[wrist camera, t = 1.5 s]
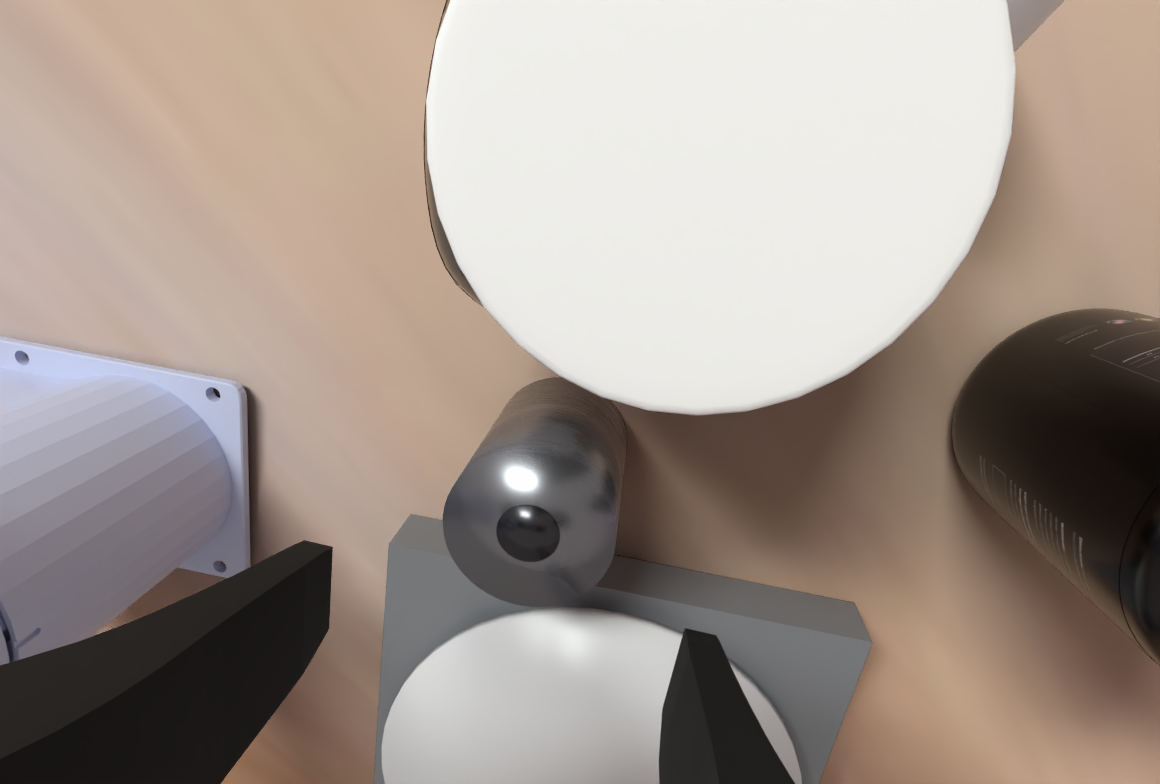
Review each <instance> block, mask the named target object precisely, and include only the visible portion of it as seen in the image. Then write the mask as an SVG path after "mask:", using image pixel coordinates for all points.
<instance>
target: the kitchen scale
mask: <svg viewBox="0 0 1160 784" xmlns="http://www.w3.org/2000/svg"><path fill="white" fill-rule="evenodd" d="M685 628H687V629H691V630H696V631H700V632H705V633H709V634H713V635H716V636H717V638H718V639H719V641H720V643H721V645H722V647H723V650H724V652H725V654H726V656H727V659H728V661H729V663H730V665H731V667H732V670H733V672H734V674H735V676H736V678H737V680H738V682H739V684H740V686H741V688H742V690H743V692H744V694H745V696H746V698H747V700H748V702H749V704H750V706H751V708H752V710H753V712H754V714H755V715H756V717H757V719H758V721H759V723H760V725H761V727H762V729H763V730H764V732H765V734H766V736H767V738H768V739H769V741H770V743H771V745H772V746H773V748H774V750H775V751H776V753H777V755H778V756H779V758H780V760H781V761H782V763H783V765H784V766H785V768H786V770H787V771H788V773H789V775H790V776H791V778H792V779H793V781H794V782H795V784H819V781H820V779H821V776H822V773H823V771H824V768H825V766H826V763H827V760H828V758H829V755H830V752H831V750H832V747H833V745H834V742H835V739H836V737H837V734H838V732H839V729H840V726H841V724H842V721H843V718H844V716H845V713H846V711H847V708H848V705H849V703H850V700H851V698H852V695H853V692H854V690H855V687H856V684H857V682H858V679H859V677H860V674H861V671H862V669H863V666H864V664H865V661H866V658H867V656H868V653H869V650H870V648H871V645H872V643H873V642H872V640H871V638H870V636H869V633H868V631H867V629H866V627H865V625H864V623H863V620H862V618H861V616H860V614H859V612H858V610H857V607H856V605H855V603H852V602H847V601H842V600H837V599H832V598H827V597H822V596H817V595H812V594H807V593H802V592H797V591H792V590H787V589H782V588H777V587H772V586H767V585H762V584H757V583H752V582H747V581H742V580H737V579H732V578H727V577H722V576H717V575H712V574H707V573H702V572H697V571H692V570H687V569H682V568H677V567H672V566H667V565H662V564H657V563H652V562H647V561H642V560H637V559H632V558H627V557H622V556H617V555H614V556H613V559H612V562H611V564H610V566H609V568H608V570H607V571H606V573H605V574H604V576H603V577H602V579H601V580H600V581H599V582H598V583H597V584H596V585H595V586H594V587H593V588H592V589H590V590H589V591H588V592H586V593H585V594H583V595H582V596H580V597H578V598H576V599H574V600H572V601H569V602H566V603H563V604H559V605H554V606H547V607H528V606H521V605H516V604H512V603H508V602H505V601H502V600H500V599H497V598H495V597H493V596H491V595H489V594H487V593H486V592H484V591H483V590H481V589H480V588H478V587H477V586H476V585H474V584H473V583H472V582H471V581H470V580H469V579H468V578H467V577H466V576H465V575H464V574H463V573H462V572H461V570H460V569H459V568H458V567H457V565H456V564H455V562H454V560H453V559H452V557H451V555H450V553H449V550H448V548H447V545H446V542H445V538H444V532H443V521H442V520H437V519H432V518H427V517H422V516H417V515H412V514H410V516H409V517H408V518H407V520H406V521H405V523H404V524H403V525H402V527H401V528H400V529H399V531H398V532H397V534H396V535H395V536H394V538H393V539H392V540H391V542H390V543H389V550H388V565H387V581H386V597H385V612H384V628H383V644H382V659H381V675H380V691H379V706H378V722H377V738H376V753H375V769H374V784H659V748H660V733H661V720H662V708H663V704H664V701H665V697H666V693H667V690H668V686H669V683H670V679H671V675H672V672H673V668H674V665H675V661H676V657H677V654H678V650H679V647H680V643H681V640H682V636H683V632H684V629H685Z"/></svg>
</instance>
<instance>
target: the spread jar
mask: <svg viewBox="0 0 1160 784" xmlns="http://www.w3.org/2000/svg"><path fill="white" fill-rule="evenodd" d="M1063 2H1064V0H446V4H445V7H444V10H443V13H442V17H441V21H440V25H439V29H438V32H437V36H436V41H435V46H434V51H433V55H432V60H431V66H430V73H429V79H428V86H427V95H426V105H425V120H424V170H425V185H426V194H427V203H428V210H429V216H430V222H431V228H432V231H433V235H434V239H435V243H436V247H437V250H438V252H439V254H440V257H441V259H442V261H443V264H444V266H445V268H446V270H447V271H448V272H449V274H450V275H451V277H452V278H453V280H454V281H455V283H456V285H457V286H459V287H460V288H461V289H462V290H463V291H464V292H465V293H466V294H467V295H468V296H470V297H471V298H472V299H473V300H474V301H475V302H477V303H478V304H480V305H482V306H483V307H484V308H485V309H486V310H487V311H488V312H489V313H490V315H491V316H492V317H493V318H494V319H495V320H496V321H497V322H498V323H499V325H500V326H501V327H502V328H503V329H504V330H505V331H506V332H507V333H508V335H509V336H510V337H511V338H512V339H513V340H514V341H515V342H516V343H517V344H518V345H519V346H520V347H521V348H522V349H524V350H525V351H526V352H528V353H529V354H530V355H532V356H533V357H534V358H536V359H537V360H538V361H539V362H541V363H542V364H543V365H545V366H546V367H547V368H549V369H550V370H551V371H553V372H554V373H555V374H556V375H558V376H560V377H562V378H564V379H566V380H568V381H570V382H572V383H574V384H576V385H578V386H580V387H582V388H584V389H586V390H588V391H590V392H592V393H594V394H596V395H598V396H600V397H602V398H606V399H609V400H613V401H616V402H619V403H623V404H626V405H630V406H633V407H637V408H640V409H644V410H647V411H655V412H665V413H676V414H686V415H696V416H699V415H711V414H723V413H735V412H747V411H751V410H755V409H759V408H762V407H766V406H770V405H774V404H777V403H781V402H785V401H788V400H792V399H796V398H799V397H801V396H803V395H805V394H808V393H810V392H812V391H814V390H816V389H818V388H820V387H823V386H825V385H827V384H829V383H831V382H833V381H835V380H838V379H840V378H842V377H844V376H846V375H848V374H849V373H851V372H852V371H854V370H855V369H856V368H858V367H859V366H861V365H862V364H864V363H865V362H866V361H868V360H869V359H871V358H872V357H874V356H875V355H876V354H878V353H879V352H881V351H882V350H884V349H885V348H886V347H888V346H889V345H891V344H892V343H893V342H894V341H895V340H896V339H897V338H898V337H899V336H900V335H901V334H902V333H903V332H904V331H905V330H906V329H907V328H908V327H909V326H910V325H911V324H912V323H913V322H914V321H915V320H916V319H917V318H918V317H920V316H921V315H922V314H923V313H924V312H925V311H926V310H927V309H928V308H929V307H930V306H931V305H932V304H933V303H934V301H935V300H936V299H937V297H938V296H939V294H940V293H941V292H942V290H943V289H944V287H945V286H946V284H947V283H948V282H949V280H950V279H951V277H952V276H953V274H954V273H955V272H956V270H957V269H958V267H959V266H960V265H961V263H962V262H963V260H964V259H965V257H966V256H967V255H968V253H969V251H970V249H971V247H972V245H973V243H974V241H975V239H976V237H977V234H978V232H979V230H980V228H981V226H982V224H983V222H984V220H985V217H986V215H987V213H988V211H989V209H990V207H991V205H992V202H993V200H994V198H995V196H996V192H997V189H998V185H999V181H1000V177H1001V173H1002V169H1003V166H1004V162H1005V158H1006V154H1007V150H1008V147H1009V143H1010V139H1011V135H1012V124H1013V109H1014V94H1015V80H1016V63H1015V56H1014V52H1015V51H1016V50H1017V49H1018V48H1019V47H1020V46H1021V45H1022V44H1023V43H1024V42H1025V41H1026V40H1027V39H1028V38H1029V37H1030V36H1031V35H1032V34H1033V33H1034V32H1035V31H1036V29H1037V28H1038V27H1039V26H1040V25H1041V24H1042V23H1043V22H1044V21H1045V20H1046V19H1047V18H1048V17H1049V16H1050V15H1051V14H1052V13H1053V12H1054V11H1055V10H1056V9H1057V8H1058V7H1059V6H1060V5H1061V4H1062V3H1063Z"/></svg>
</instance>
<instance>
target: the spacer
mask: <svg viewBox="0 0 1160 784" xmlns="http://www.w3.org/2000/svg"><path fill="white" fill-rule="evenodd" d="M626 448H627V434H626V428H625V425H624V421H623V419H622V417H621V415H620V412H619V411H618V409H617V408H616V406H615V405H614V404H613V402H612V401H611V400H609V399H606V398H602V397H600V396H598V395H596V394H594V393H592V392H590V391H588V390H586V389H584V388H582V387H580V386H578V385H576V384H574V383H572V382H570V381H568V380H566V379H564V378H547V379H543V380H539V381H536V382H534V383H531V384H529V385H527V386H526V387H524V388H522V389H521V390H520V391H519V392H517V393H516V394H515V395H514V396H513V397H512V398H511V399H510V401H509V402H508V404H507V405H506V406H505V408H504V409H503V411H502V413H501V414H500V416H499V417H498V419H497V420H496V422H495V423H494V425H493V426H492V428H491V429H490V431H489V432H488V434H487V435H486V437H485V439H484V440H483V442H482V443H481V445H480V446H479V448H478V449H477V451H476V452H475V454H474V455H473V457H472V458H471V460H470V461H469V463H468V464H467V466H466V468H465V469H464V471H463V472H462V474H461V475H460V477H459V478H458V480H457V481H456V483H455V484H454V486H453V487H452V489H451V491H450V493H449V495H448V497H447V500H446V503H445V507H444V513H443V532H444V538H445V542H446V545H447V548H448V550H449V553H450V555H451V557H452V559H453V560H454V562H455V564H456V565H457V567H458V568H459V569H460V570H461V572H462V573H463V574H464V575H465V576H466V577H467V578H468V579H469V580H470V581H471V582H472V583H473V584H474V585H476V586H477V587H478V588H480V589H481V590H483V591H484V592H486V593H487V594H489V595H491V596H493V597H495V598H497V599H500V600H502V601H505V602H508V603H512V604H516V605H521V606H528V607H547V606H554V605H559V604H563V603H566V602H569V601H572V600H574V599H576V598H578V597H580V596H582V595H583V594H585V593H586V592H588V591H589V590H590V589H592V588H593V587H594V586H595V585H596V584H597V583H598V582H599V581H600V580H601V579H602V577H603V576H604V574H605V573H606V571H607V570H608V568H609V566H610V564H611V562H612V559H613V556H614V552H615V546H616V538H617V529H618V520H619V511H620V502H621V493H622V484H623V475H624V466H625V457H626Z"/></svg>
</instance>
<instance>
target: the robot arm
mask: <svg viewBox="0 0 1160 784" xmlns="http://www.w3.org/2000/svg"><path fill="white" fill-rule="evenodd" d="M25 353H26V354H27V355H28V358H29V359H28V358H27V357H26V354H25ZM213 388H215V389H217V390H218V391H219V393H220V398H219V397H217V396H216V395H215V394H214V391H213ZM332 548H333V547H331V546H326V545H322V544H317V543H313V542H309V541H302V542H300V543H297V544H295V545H293V546H291V547H289V548H287V549H285V550H283V551H281V552H279V553H277V554H275V555H273V556H271V557H269V558H267V559H265V560H263V561H261V562H259V563H257V564H255V565H253V566H251V565H250V518H249V470H248V422H247V395H246V391H245V389H244V388H243V386H242V385H240V384H239V383H238V382H235V381H233V380H228V379H222V378H217V377H212V376H207V375H201V374H196V373H191V372H186V371H180V370H175V369H170V368H165V367H159V366H154V365H149V364H144V363H138V362H133V361H128V360H123V359H117V358H112V357H107V356H102V355H96V354H91V353H86V352H81V351H75V350H70V349H65V348H60V347H55V346H49V345H44V344H39V343H34V342H28V341H23V340H18V339H13V338H7V337H0V784H221V782H222V781H223V780H224V778H225V777H226V775H227V774H228V773H229V771H230V770H231V769H232V767H233V766H234V765H235V763H236V762H237V761H238V760H239V758H240V757H241V756H242V754H243V753H244V752H245V750H246V749H247V748H248V746H249V745H250V744H251V742H252V741H253V740H254V738H255V737H256V736H257V734H258V733H259V732H260V731H261V729H262V728H263V727H264V725H265V724H266V723H267V721H268V720H269V719H270V717H271V716H272V715H273V713H274V712H275V711H276V709H277V708H278V707H279V705H280V704H281V703H282V701H283V700H284V699H285V697H286V696H287V695H288V693H289V692H290V691H291V689H292V688H293V687H294V685H295V684H296V683H297V681H298V680H299V678H300V677H301V676H302V674H303V673H304V671H305V669H306V668H307V666H308V664H309V663H310V661H311V659H312V658H313V656H314V654H315V653H316V651H317V649H318V647H319V645H320V644H321V642H322V640H323V638H324V636H325V635H326V633H327V631H328V629H329V616H330V593H331V571H332ZM221 561H222V562H223V563H224V564H225V565H226V566H224V565H223V564H222V563H221ZM176 568H181V569H186V570H191V571H195V572H200V573H205V574H210V575H215V576H219V577H224V578H227V579H225V580H223V581H221V582H219V583H217V584H215V585H213V586H211V587H209V588H207V589H205V590H203V591H201V592H198V593H196V594H194V595H192V596H189V597H187V598H185V599H183V600H181V601H178V602H176V603H174V604H172V605H169V606H167V607H165V608H163V609H161V610H158V611H156V612H154V613H152V614H149V615H147V616H144V617H142V618H140V619H137V620H135V621H132V622H130V623H127V624H124V625H122V626H119V627H117V628H114V629H111V630H108V631H106V632H103V633H100V634H98V635H95V634H96V633H98V632H99V631H100V630H101V629H103V628H104V627H105V626H106V625H107V624H109V623H110V622H111V621H112V620H114V619H115V618H116V617H117V616H118V615H120V614H121V613H122V612H123V611H125V610H126V609H127V608H128V607H129V606H131V605H132V604H133V603H134V602H136V601H137V600H138V599H139V598H140V597H142V596H143V595H144V594H145V593H147V592H148V591H149V590H150V589H151V588H153V587H154V586H155V585H156V584H158V583H159V582H160V581H161V580H162V579H164V578H165V577H166V576H167V575H169V574H170V573H171V572H172V571H174V570H175V569H176ZM94 635H95V636H94ZM659 784H795V782H794V781H793V779H792V778H791V776H790V775H789V773H788V771H787V770H786V768H785V766H784V765H783V763H782V761H781V760H780V758H779V756H778V755H777V753H776V751H775V750H774V748H773V746H772V745H771V743H770V741H769V739H768V738H767V736H766V734H765V732H764V730H763V729H762V727H761V725H760V723H759V721H758V719H757V717H756V715H755V714H754V712H753V710H752V708H751V706H750V704H749V702H748V700H747V698H746V696H745V694H744V692H743V690H742V688H741V686H740V684H739V682H738V680H737V678H736V676H735V674H734V672H733V670H732V667H731V665H730V663H729V661H728V659H727V656H726V654H725V652H724V650H723V647H722V645H721V643H720V641H719V639H718V638H717V636H716V635H713V634H709V633H705V632H700V631H696V630H691V629H687V628H685V629H684V632H683V636H682V640H681V643H680V647H679V650H678V654H677V657H676V661H675V665H674V668H673V672H672V675H671V679H670V683H669V686H668V690H667V693H666V697H665V701H664V704H663V708H662V720H661V733H660V748H659Z"/></svg>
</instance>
